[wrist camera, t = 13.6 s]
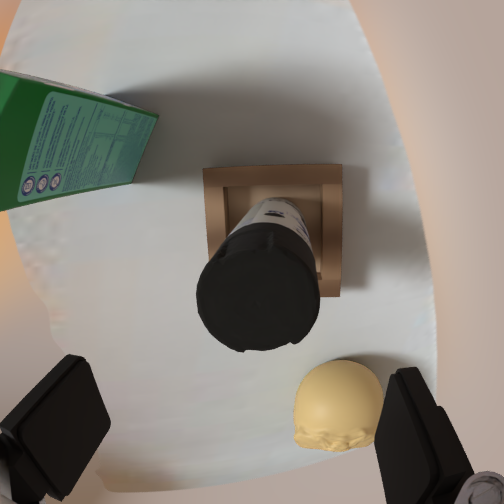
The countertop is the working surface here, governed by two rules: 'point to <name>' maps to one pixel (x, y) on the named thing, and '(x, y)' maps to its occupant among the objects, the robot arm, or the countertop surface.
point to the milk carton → (64, 140)
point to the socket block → (288, 187)
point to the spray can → (261, 281)
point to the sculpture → (337, 407)
